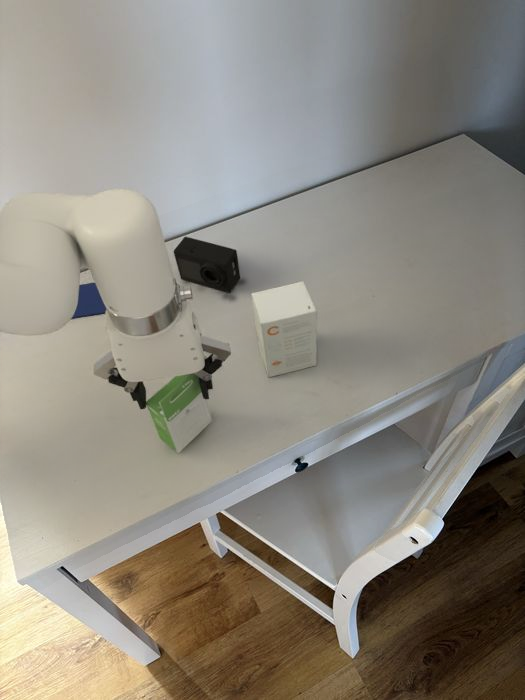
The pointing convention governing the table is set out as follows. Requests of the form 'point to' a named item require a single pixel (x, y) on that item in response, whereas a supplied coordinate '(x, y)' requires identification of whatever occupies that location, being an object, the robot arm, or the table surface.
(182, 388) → the ink box
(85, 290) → the cloth
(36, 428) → the table surface
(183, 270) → the digital camera
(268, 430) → the table surface
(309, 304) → the small box
